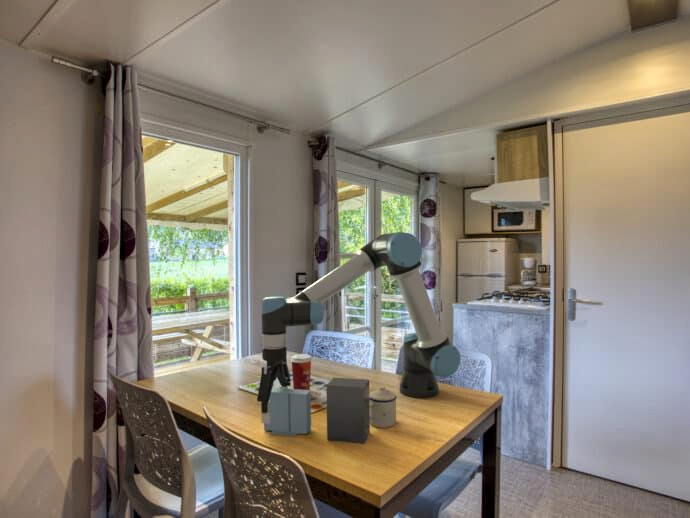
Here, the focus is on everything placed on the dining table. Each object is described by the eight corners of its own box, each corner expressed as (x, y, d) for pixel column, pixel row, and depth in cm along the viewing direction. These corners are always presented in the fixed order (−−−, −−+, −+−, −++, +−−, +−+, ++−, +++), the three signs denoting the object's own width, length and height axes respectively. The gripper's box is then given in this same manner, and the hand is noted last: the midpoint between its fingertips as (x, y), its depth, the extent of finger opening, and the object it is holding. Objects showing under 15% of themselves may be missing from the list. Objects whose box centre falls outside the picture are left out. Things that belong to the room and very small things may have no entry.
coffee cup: (309, 399, 158) (308, 359, 158) (288, 397, 160) (287, 358, 160) (315, 391, 166) (314, 354, 166) (295, 390, 168) (294, 353, 168)
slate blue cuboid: (311, 428, 131) (310, 390, 130) (306, 434, 127) (306, 394, 126) (269, 424, 134) (269, 387, 134) (264, 429, 130) (263, 391, 130)
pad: (304, 426, 133) (304, 425, 133) (295, 437, 125) (295, 436, 125) (280, 424, 135) (280, 423, 135) (270, 434, 127) (270, 433, 127)
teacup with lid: (382, 415, 142) (382, 380, 142) (402, 423, 135) (402, 387, 135) (356, 424, 134) (355, 388, 134) (375, 433, 127) (375, 395, 127)
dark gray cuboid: (369, 432, 128) (369, 379, 128) (364, 444, 120) (363, 387, 120) (331, 428, 131) (330, 377, 131) (323, 439, 123) (323, 385, 123)
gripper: (279, 338, 144) (280, 399, 144) (244, 355, 120) (245, 429, 120) (299, 338, 142) (300, 401, 142) (268, 356, 118) (269, 431, 118)
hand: (275, 414), depth 131 cm, fingers open, 13 cm apart
